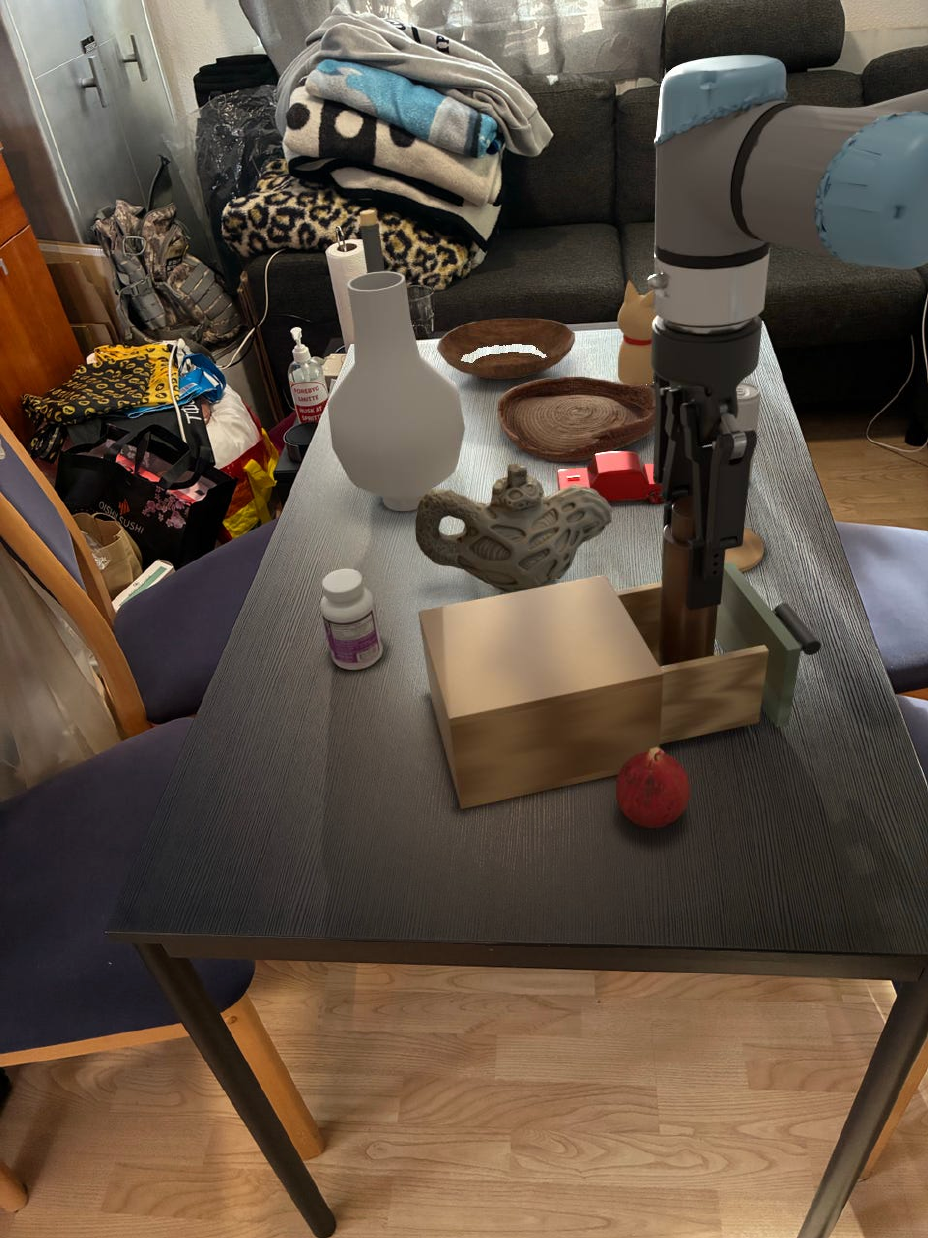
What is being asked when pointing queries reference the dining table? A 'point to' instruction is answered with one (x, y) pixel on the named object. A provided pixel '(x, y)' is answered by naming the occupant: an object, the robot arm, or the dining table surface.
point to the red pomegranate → (652, 788)
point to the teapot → (512, 530)
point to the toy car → (614, 477)
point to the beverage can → (748, 409)
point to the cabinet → (540, 688)
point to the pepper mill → (682, 595)
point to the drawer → (727, 661)
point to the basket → (575, 416)
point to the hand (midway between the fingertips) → (690, 586)
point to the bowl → (501, 332)
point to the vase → (393, 401)
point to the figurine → (636, 338)
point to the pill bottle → (350, 620)
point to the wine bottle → (371, 241)
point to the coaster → (746, 552)
